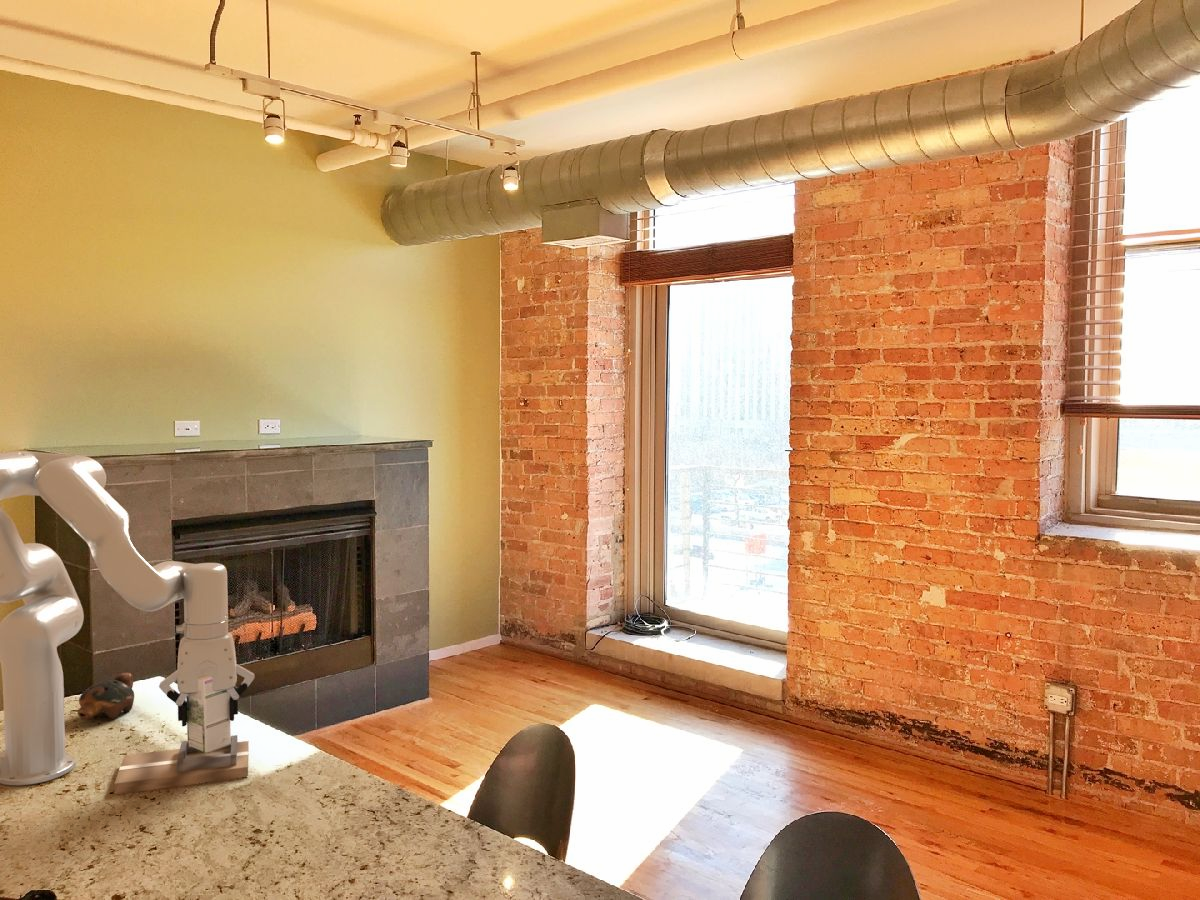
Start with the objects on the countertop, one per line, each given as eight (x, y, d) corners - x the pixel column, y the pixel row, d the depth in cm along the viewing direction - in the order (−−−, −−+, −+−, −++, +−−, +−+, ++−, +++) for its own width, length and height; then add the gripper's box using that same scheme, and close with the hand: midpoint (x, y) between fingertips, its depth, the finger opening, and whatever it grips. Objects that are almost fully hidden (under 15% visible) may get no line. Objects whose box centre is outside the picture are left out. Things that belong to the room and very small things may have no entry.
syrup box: (232, 744, 171) (231, 669, 170) (204, 754, 166) (202, 677, 165) (213, 737, 174) (212, 664, 174) (185, 747, 170) (184, 672, 169)
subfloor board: (114, 794, 159) (114, 772, 159) (124, 765, 171) (124, 745, 171) (247, 777, 167) (247, 756, 167) (248, 750, 179) (248, 731, 179)
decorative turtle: (149, 703, 204) (148, 670, 203) (107, 733, 189) (106, 697, 188) (108, 699, 205) (108, 666, 204) (63, 729, 190) (62, 693, 189)
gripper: (153, 639, 162) (155, 734, 164) (256, 630, 168) (257, 722, 170) (157, 628, 169) (159, 719, 171) (256, 620, 175) (257, 709, 177)
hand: (208, 720), depth 170 cm, fingers closed on syrup box, 7 cm apart
